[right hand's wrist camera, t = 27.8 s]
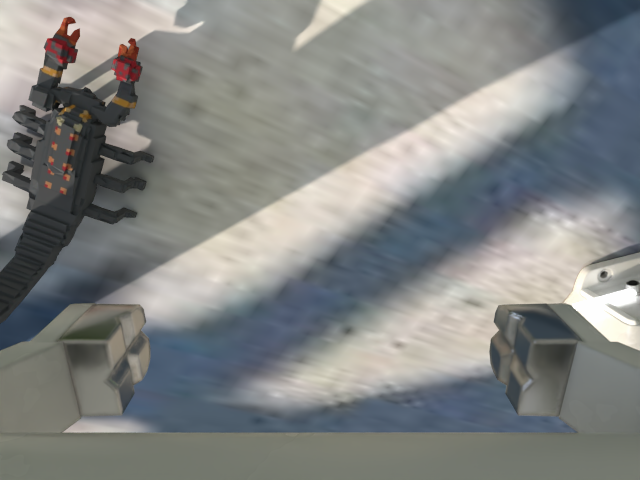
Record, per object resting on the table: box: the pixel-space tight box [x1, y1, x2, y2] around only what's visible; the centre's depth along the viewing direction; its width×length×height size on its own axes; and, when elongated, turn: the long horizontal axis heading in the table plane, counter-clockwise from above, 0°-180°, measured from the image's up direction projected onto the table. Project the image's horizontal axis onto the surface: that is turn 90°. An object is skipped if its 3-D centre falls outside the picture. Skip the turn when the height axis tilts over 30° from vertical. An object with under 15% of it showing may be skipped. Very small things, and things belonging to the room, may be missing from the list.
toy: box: [0, 17, 154, 324], centre depth 37 cm, size 13×27×18 cm, turn 156°
